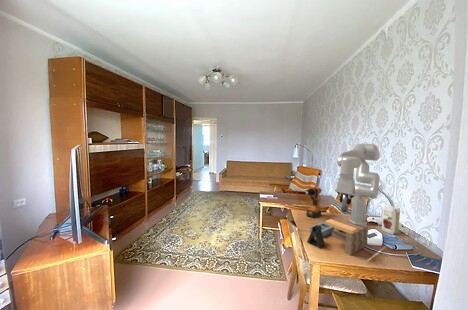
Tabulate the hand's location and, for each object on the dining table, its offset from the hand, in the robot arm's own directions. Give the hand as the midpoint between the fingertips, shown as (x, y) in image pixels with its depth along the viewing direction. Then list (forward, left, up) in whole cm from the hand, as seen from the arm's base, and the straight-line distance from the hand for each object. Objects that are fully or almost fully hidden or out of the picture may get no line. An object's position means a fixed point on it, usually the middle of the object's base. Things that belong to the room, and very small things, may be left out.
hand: (345, 202), depth 131 cm
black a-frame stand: (+22, -6, -25) cm, 34 cm away
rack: (+5, -12, -25) cm, 28 cm away
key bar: (+15, +5, -11) cm, 20 cm away
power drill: (-18, -35, -25) cm, 47 cm away
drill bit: (0, 0, -6) cm, 6 cm away
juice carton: (-40, +14, -25) cm, 49 cm away
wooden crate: (+7, +4, -25) cm, 26 cm away
